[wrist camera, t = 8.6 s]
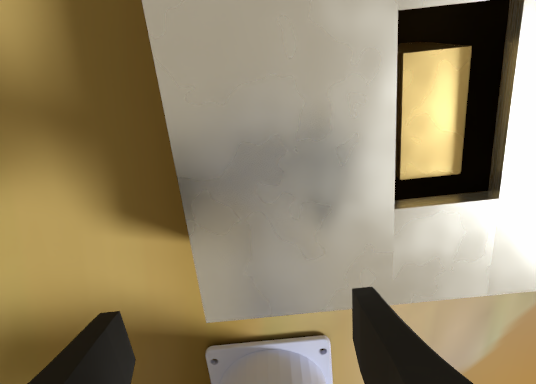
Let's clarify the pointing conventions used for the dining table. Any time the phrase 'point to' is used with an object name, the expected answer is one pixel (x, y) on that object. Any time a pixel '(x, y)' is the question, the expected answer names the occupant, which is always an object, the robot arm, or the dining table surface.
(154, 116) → the dining table surface
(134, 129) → the dining table surface
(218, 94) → the cash box
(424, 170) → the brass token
